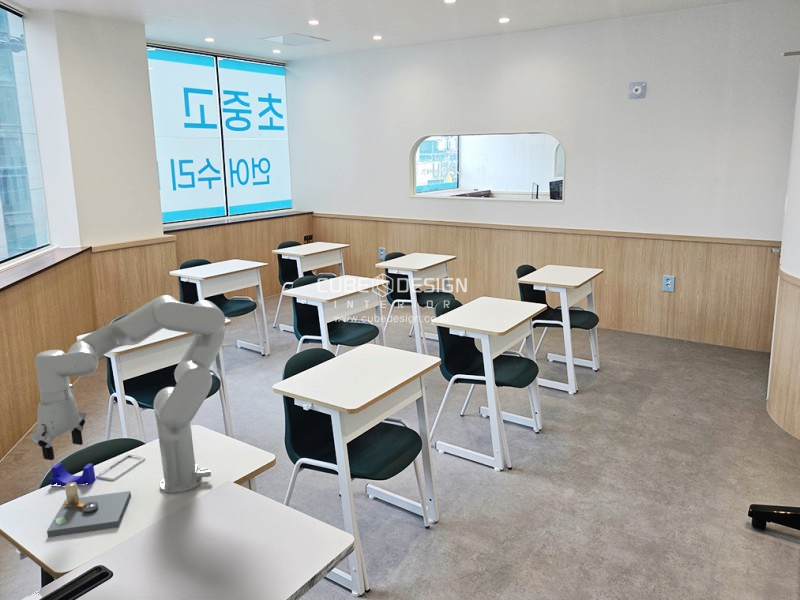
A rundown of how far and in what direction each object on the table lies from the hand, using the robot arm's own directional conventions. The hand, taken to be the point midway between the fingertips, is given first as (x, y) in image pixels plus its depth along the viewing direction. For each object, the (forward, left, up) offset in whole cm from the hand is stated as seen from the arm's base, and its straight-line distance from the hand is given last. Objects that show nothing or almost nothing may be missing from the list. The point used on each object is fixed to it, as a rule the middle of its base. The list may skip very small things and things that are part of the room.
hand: (63, 451), depth 170 cm
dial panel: (-6, +3, -20) cm, 21 cm away
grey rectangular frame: (-8, -25, -20) cm, 33 cm away
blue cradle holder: (+5, -18, -20) cm, 27 cm away
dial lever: (-3, +2, -17) cm, 18 cm away
